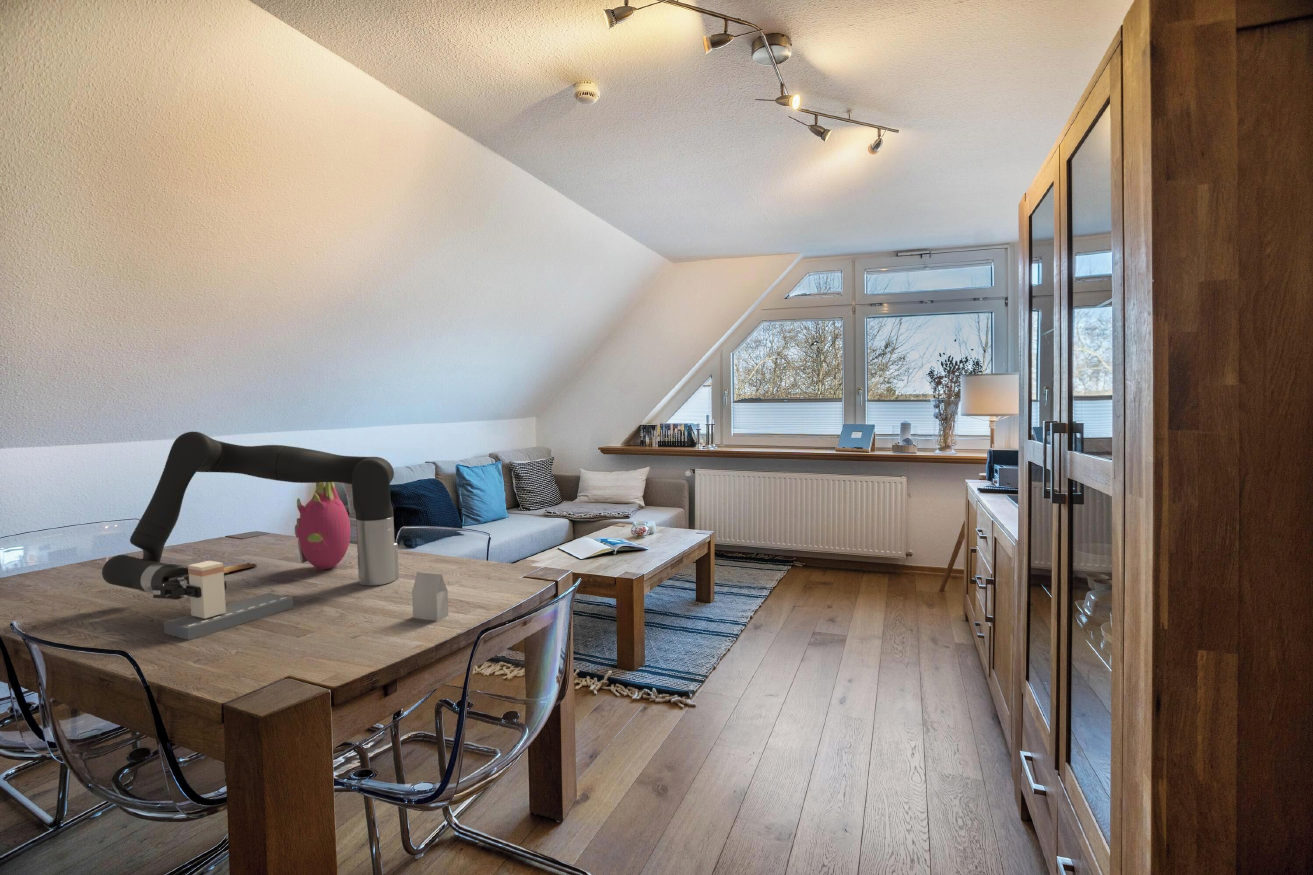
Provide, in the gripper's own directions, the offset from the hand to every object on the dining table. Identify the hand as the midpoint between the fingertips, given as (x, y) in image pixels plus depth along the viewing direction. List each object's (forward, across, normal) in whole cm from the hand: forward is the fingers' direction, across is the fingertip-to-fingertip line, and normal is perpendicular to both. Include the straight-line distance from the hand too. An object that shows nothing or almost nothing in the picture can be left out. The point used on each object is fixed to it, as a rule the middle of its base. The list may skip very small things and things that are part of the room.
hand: (211, 589), depth 146 cm
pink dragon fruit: (-23, +44, +9) cm, 50 cm away
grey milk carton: (+37, +26, +9) cm, 46 cm away
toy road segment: (-2, +5, +8) cm, 10 cm away
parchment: (-48, +26, +9) cm, 55 cm away
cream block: (-2, 0, +6) cm, 6 cm away
